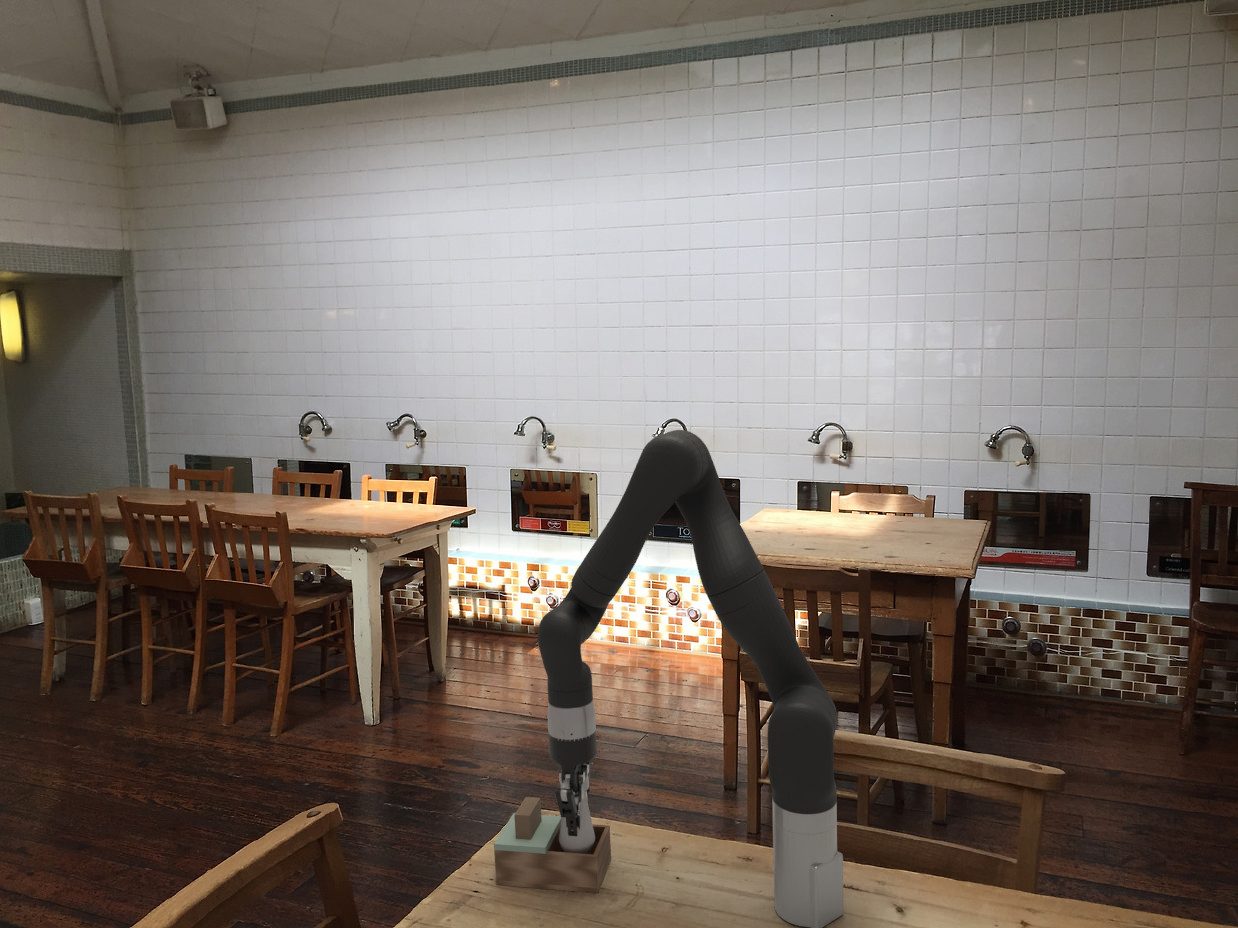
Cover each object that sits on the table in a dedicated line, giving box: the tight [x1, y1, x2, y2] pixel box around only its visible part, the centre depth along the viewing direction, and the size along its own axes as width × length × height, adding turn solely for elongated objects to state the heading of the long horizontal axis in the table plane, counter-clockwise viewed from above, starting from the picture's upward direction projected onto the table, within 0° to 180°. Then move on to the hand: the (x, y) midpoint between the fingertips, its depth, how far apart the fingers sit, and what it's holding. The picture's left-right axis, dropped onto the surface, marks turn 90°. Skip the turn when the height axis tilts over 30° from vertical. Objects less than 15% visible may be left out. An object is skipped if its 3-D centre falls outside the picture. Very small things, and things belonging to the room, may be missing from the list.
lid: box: [493, 796, 562, 854], centre depth 151 cm, size 8×10×5 cm
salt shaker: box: [559, 776, 595, 854], centre depth 150 cm, size 6×6×13 cm
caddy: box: [493, 823, 612, 894], centre depth 151 cm, size 17×10×6 cm, turn 78°
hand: (576, 830), depth 150 cm, fingers closed on salt shaker, 3 cm apart
